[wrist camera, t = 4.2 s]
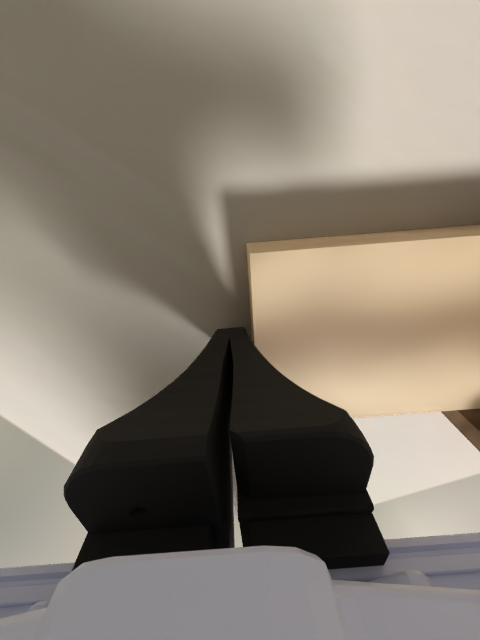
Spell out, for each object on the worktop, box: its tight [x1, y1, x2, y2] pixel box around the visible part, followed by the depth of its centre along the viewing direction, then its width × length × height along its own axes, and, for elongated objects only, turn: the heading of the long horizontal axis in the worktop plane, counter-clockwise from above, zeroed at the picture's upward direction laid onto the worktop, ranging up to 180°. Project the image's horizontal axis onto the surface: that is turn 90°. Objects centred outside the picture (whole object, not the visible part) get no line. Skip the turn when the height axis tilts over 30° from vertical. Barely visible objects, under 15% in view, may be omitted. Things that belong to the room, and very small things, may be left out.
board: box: [246, 225, 480, 418], centre depth 11 cm, size 8×13×2 cm, turn 94°
